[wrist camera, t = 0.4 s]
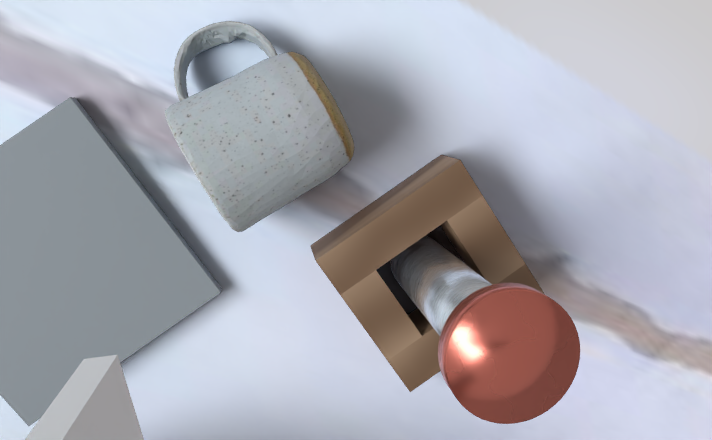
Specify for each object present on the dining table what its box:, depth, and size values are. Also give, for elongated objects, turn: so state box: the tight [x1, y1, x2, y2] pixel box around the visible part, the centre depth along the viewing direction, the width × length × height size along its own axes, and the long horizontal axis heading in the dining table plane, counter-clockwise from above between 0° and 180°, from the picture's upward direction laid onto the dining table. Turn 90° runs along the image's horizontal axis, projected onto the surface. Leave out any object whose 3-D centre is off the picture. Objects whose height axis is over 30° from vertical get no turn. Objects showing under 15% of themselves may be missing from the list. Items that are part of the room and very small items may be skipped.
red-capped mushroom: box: [391, 236, 580, 424], centre depth 34 cm, size 6×6×16 cm
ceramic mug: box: [165, 21, 354, 232], centre depth 35 cm, size 11×8×8 cm
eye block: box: [311, 155, 544, 392], centre depth 40 cm, size 10×10×4 cm
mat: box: [0, 97, 222, 426], centre depth 38 cm, size 14×14×1 cm
